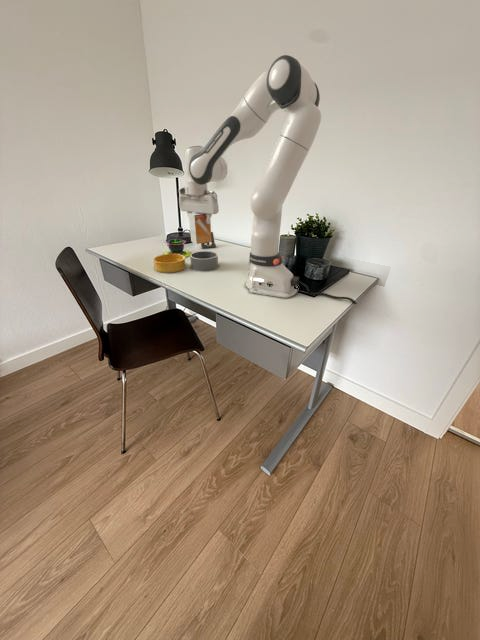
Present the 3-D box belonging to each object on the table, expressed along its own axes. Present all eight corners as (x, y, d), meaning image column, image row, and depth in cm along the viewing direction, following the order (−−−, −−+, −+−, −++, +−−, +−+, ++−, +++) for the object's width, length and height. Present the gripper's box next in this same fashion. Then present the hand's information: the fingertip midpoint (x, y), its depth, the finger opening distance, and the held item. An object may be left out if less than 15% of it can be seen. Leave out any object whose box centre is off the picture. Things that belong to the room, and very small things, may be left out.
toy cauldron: (176, 249, 161) (174, 230, 156) (195, 253, 155) (194, 233, 149) (158, 255, 150) (155, 235, 145) (178, 260, 144) (175, 239, 138)
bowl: (191, 266, 135) (190, 256, 132) (170, 275, 124) (169, 265, 121) (170, 261, 141) (168, 252, 139) (148, 269, 130) (146, 259, 128)
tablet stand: (202, 248, 163) (201, 234, 159) (198, 245, 169) (197, 232, 165) (215, 247, 166) (215, 233, 162) (212, 244, 172) (211, 231, 168)
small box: (196, 244, 124) (194, 214, 118) (191, 241, 129) (188, 213, 122) (211, 242, 128) (210, 213, 122) (205, 239, 133) (204, 211, 126)
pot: (223, 265, 137) (223, 253, 134) (207, 273, 127) (206, 260, 124) (202, 260, 143) (201, 249, 140) (185, 267, 133) (184, 256, 130)
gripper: (220, 190, 115) (222, 224, 122) (185, 188, 124) (187, 219, 131) (212, 191, 110) (213, 226, 117) (175, 189, 119) (179, 221, 126)
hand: (199, 222), depth 124 cm, fingers closed on small box, 7 cm apart
